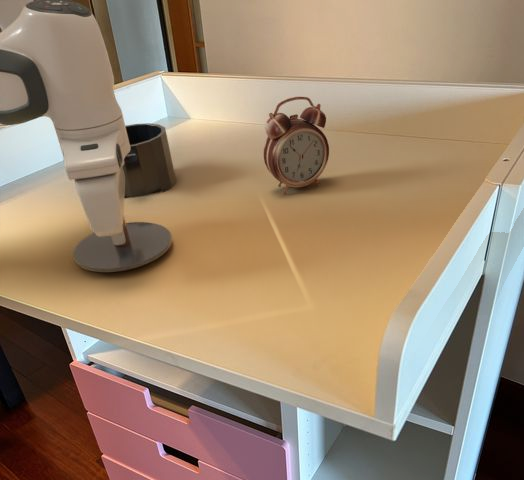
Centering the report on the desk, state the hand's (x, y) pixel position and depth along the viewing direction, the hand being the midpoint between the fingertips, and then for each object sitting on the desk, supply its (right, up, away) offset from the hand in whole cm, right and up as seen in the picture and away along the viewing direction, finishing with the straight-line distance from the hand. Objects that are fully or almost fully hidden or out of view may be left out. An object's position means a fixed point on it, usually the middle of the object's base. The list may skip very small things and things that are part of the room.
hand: (120, 237), depth 83 cm
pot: (-2, +15, +25) cm, 29 cm away
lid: (0, -1, +1) cm, 2 cm away
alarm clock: (+27, +12, +16) cm, 34 cm away
